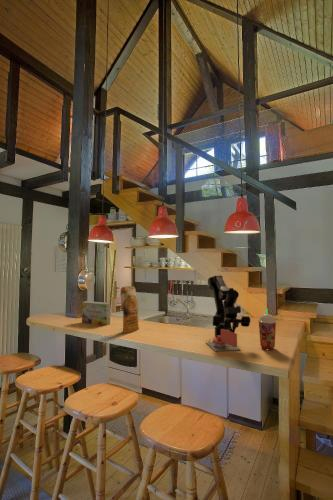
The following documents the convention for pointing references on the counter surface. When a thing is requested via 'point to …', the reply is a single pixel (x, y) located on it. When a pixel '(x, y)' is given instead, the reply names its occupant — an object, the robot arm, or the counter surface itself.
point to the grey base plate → (222, 347)
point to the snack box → (96, 313)
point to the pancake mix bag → (129, 309)
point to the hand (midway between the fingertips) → (233, 335)
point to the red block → (226, 338)
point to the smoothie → (267, 331)
